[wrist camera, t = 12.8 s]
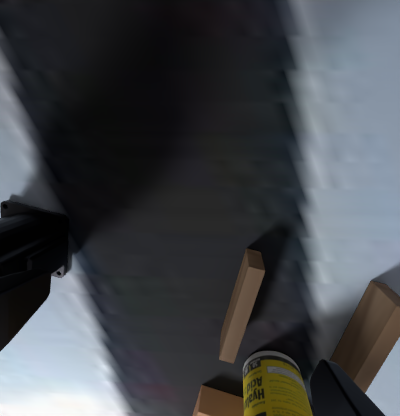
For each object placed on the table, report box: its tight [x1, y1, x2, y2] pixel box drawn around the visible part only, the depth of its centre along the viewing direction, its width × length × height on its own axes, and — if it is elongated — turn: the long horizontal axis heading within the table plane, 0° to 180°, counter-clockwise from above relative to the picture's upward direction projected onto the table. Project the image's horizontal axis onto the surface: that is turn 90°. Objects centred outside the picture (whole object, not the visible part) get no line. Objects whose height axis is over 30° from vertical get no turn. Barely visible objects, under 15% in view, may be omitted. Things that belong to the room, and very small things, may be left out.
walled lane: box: [219, 248, 400, 393], centre depth 18 cm, size 11×9×3 cm
